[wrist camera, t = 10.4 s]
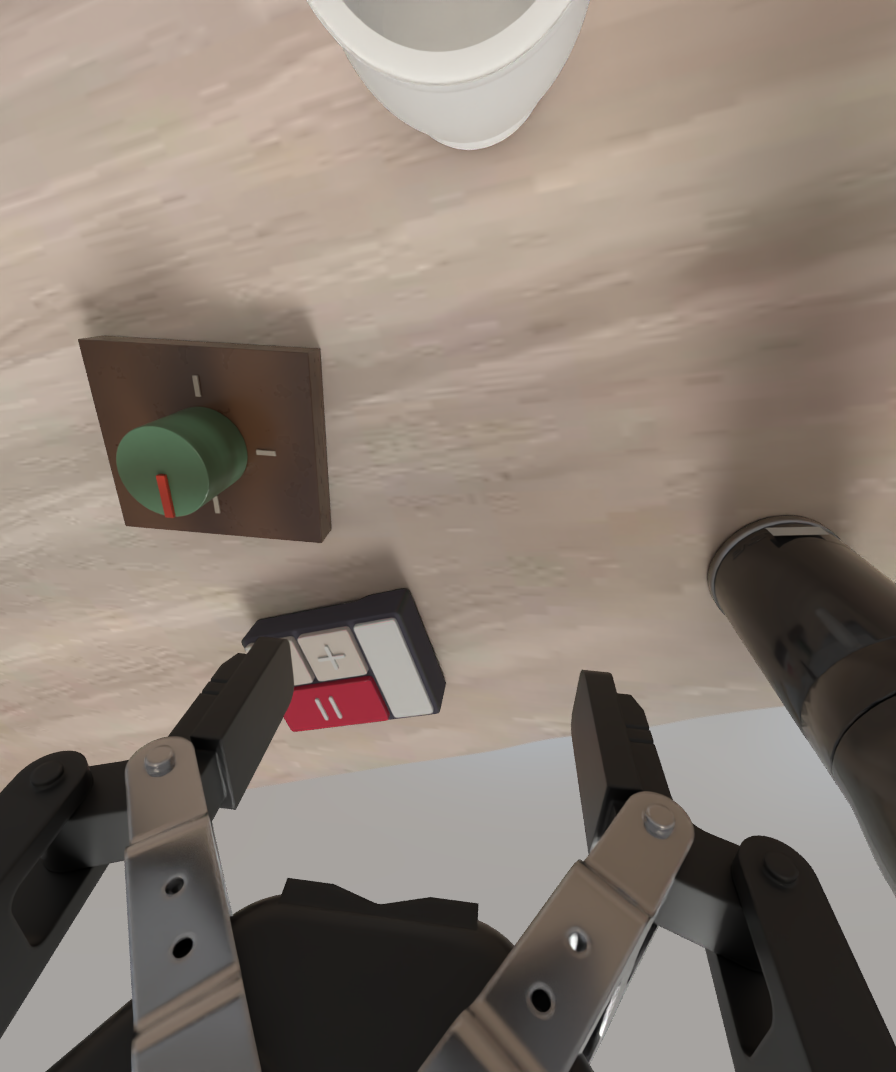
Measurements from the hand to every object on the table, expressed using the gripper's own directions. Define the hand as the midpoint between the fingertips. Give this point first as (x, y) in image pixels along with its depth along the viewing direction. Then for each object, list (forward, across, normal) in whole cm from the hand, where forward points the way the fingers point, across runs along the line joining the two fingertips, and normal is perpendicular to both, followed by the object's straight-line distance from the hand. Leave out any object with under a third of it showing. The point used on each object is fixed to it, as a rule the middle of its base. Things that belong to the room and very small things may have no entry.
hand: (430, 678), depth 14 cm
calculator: (+26, +10, +21) cm, 35 cm away
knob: (+24, +19, +2) cm, 31 cm away
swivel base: (+26, +19, +2) cm, 33 cm away
